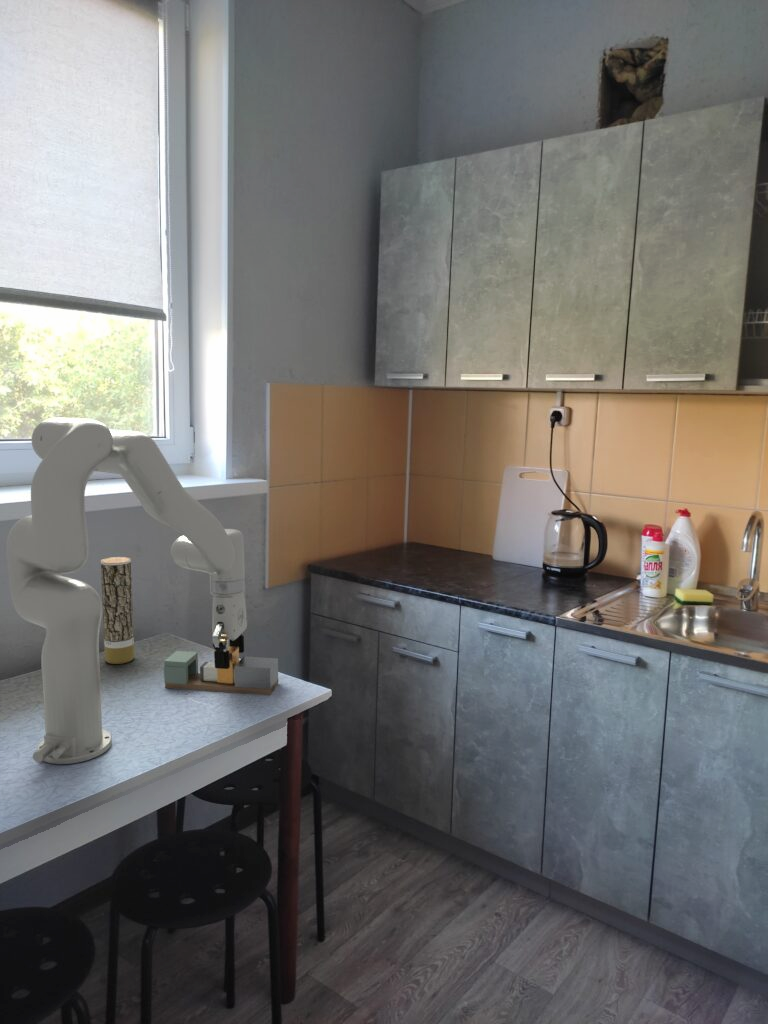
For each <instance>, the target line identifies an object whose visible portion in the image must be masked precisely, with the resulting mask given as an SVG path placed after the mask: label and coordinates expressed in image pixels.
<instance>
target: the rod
mask: <svg viewBox="0 0 768 1024" xmlns="http://www.w3.org/2000/svg"><path fill="white" fill-rule="evenodd" d="M227 651H229V659H230V667H229V668H228V669H219V668H215V661H214V662H213V661H204V662H203V663H202V664H201V665H200V667H199V673H200V681H214V682H217V683H227V684H233V683H235V665H236V664H237V663H238V662H239V661H240V653H239V647H233V646H230V645H228V650H227Z"/></svg>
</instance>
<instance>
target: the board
mask: <svg viewBox="0 0 768 1024" xmlns="http://www.w3.org/2000/svg"><path fill="white" fill-rule="evenodd" d="M278 685H279V679H278V680H277V681H276V683H275V684H274V685H273V687H272V688H271V689H256V688H242V687H235V683H233V684H227V683H217V682H214V681H200V672H198V674H196V675H193V674H188V683H187V684H174V683H165V682H164V688H166V689H178V690H193V691H210V692H218V693H219V692H222V693H233V694H234V693H237V694H250V695H265V696H270V695H272V694H273V692H274V691H275V689H276V688H277V686H278Z"/></svg>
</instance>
